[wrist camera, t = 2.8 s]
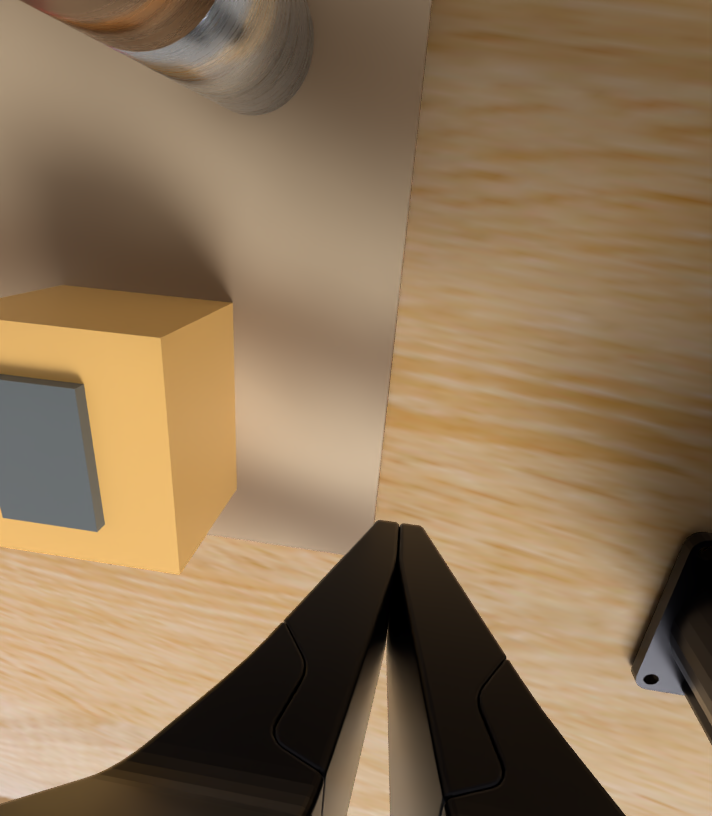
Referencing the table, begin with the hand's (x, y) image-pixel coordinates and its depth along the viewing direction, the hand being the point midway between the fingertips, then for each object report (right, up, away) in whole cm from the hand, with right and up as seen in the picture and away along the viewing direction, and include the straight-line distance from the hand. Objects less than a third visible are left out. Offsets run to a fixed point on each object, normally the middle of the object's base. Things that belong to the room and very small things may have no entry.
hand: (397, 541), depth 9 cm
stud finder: (-7, +3, +6) cm, 9 cm away
